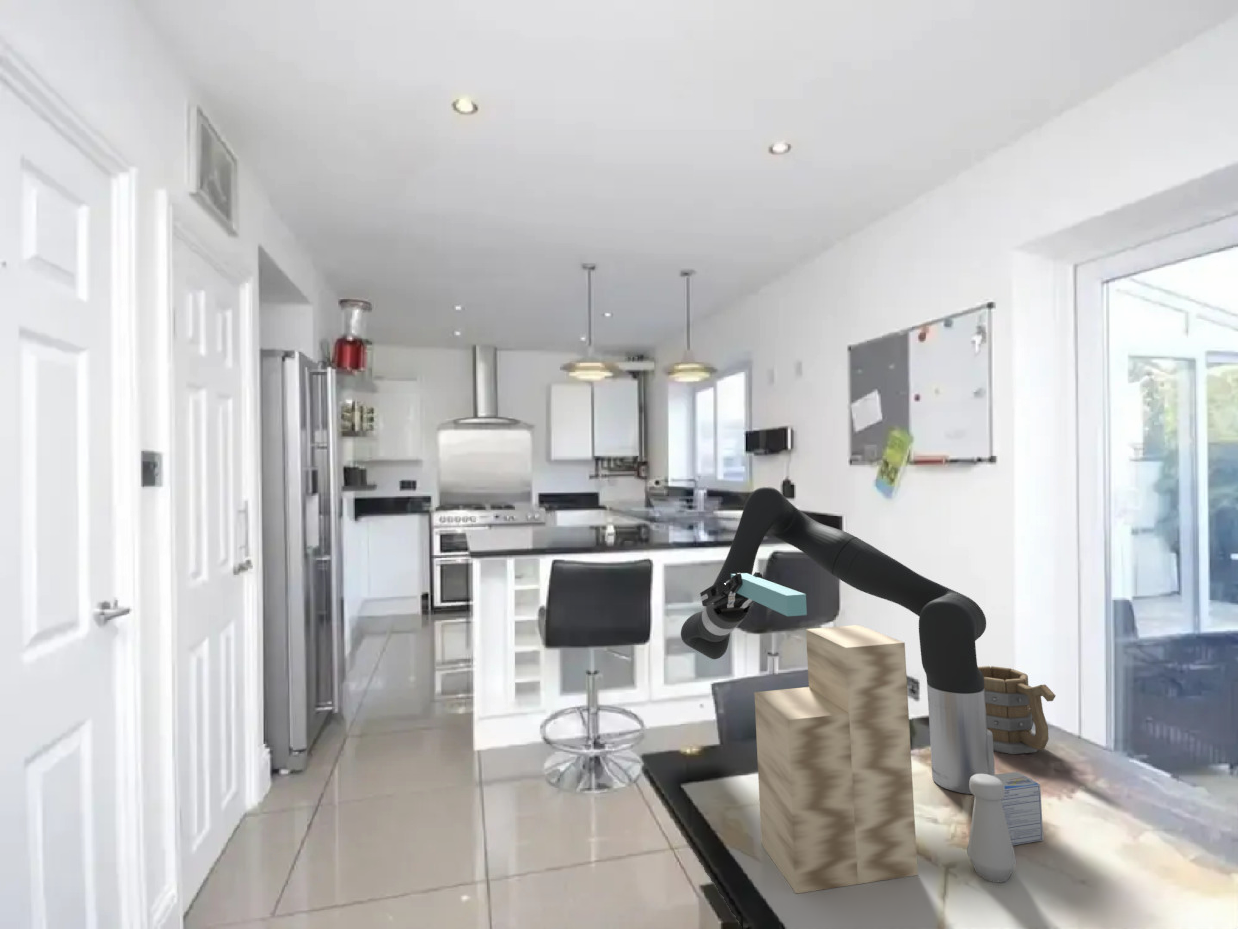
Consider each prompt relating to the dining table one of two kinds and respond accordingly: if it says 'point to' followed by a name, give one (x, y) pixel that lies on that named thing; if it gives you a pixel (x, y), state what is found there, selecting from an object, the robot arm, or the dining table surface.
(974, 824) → the salt shaker
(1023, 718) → the tankard
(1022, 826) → the medicine box
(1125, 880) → the dining table surface
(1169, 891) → the dining table surface
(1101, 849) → the dining table surface
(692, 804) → the dining table surface
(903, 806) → the block
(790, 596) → the teal bar
